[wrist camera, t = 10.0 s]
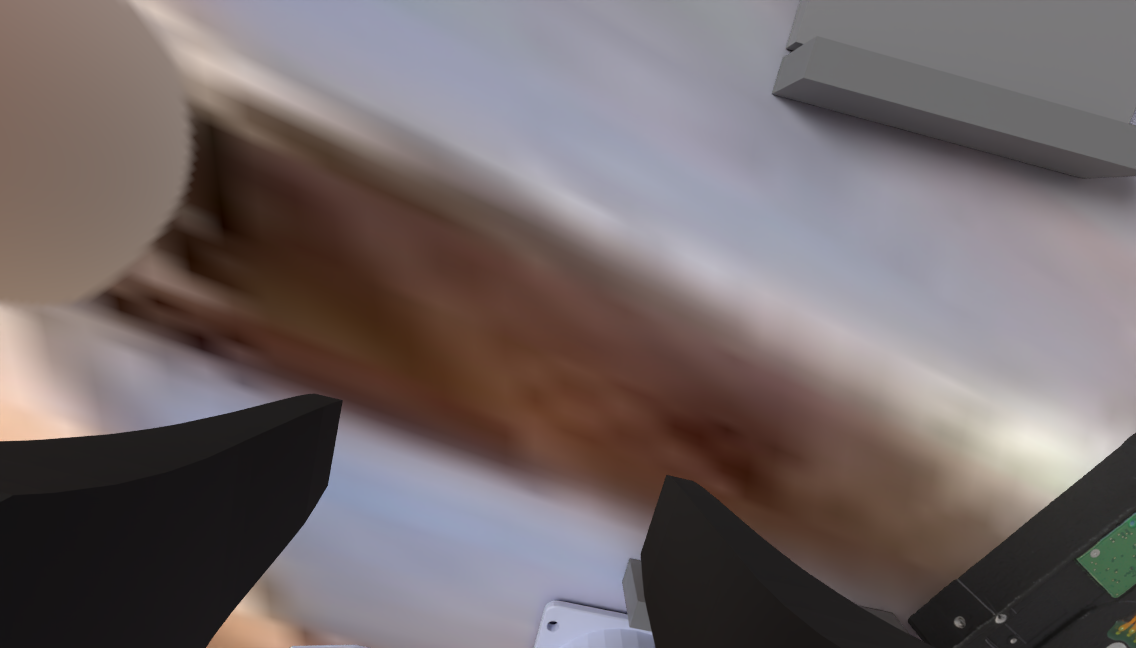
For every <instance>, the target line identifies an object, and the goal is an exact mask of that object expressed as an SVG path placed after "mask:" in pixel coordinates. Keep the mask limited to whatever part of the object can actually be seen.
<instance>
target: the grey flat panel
mask: <svg viewBox="0 0 1136 648" xmlns="http://www.w3.org/2000/svg"><path fill="white" fill-rule="evenodd" d="M786 49H789V50H793V52H791V53H789V54H788V55H786V56H785V57H783V59H782V62H781V66H780V69H779V72H778V75H777V79H776V82H775V85H774V89H773V92H772V94H774V95H778V96H782V97H785V98H789V99H793V100H796V101H800V102H804V103H807V104H811V105H815V106H818V107H822V108H826V109H829V110H833V111H837V112H840V113H844V114H848V115H851V116H855V117H859V118H863V119H866V120H870V121H874V122H877V123H881V124H885V125H888V126H892V127H896V128H899V129H903V130H907V131H910V132H914V133H918V134H921V135H925V136H929V137H932V138H936V139H940V140H943V141H947V142H951V143H954V144H958V145H962V146H965V147H969V148H973V149H976V150H980V151H984V152H988V153H991V154H995V155H999V156H1002V157H1006V158H1010V159H1013V160H1017V161H1021V162H1024V163H1028V164H1032V165H1035V166H1039V167H1043V168H1046V169H1050V170H1054V171H1057V172H1061V173H1065V174H1068V175H1072V176H1076V177H1079V178H1106V177H1128V176H1136V125H1132V124H1129V122H1130V120H1131V118H1132V116H1133V113H1134V111H1135V109H1136V0H800V4H799V7H798V10H797V13H796V17H795V20H794V23H793V27H792V30H791V33H790V36H789V40H788V43H787V46H786ZM622 584H623V590H624V596H625V603H626V609H627V615H628V621H629V627H630V628H635V629H640V630H646V631H651V632H652V630H651V626H650V621H649V617H648V612H647V608H646V603H645V598H644V590H643V580H642V566H641V561H639V560H635V559H629V562H628V565H627V568H626V572H625V575H624V578H623V581H622ZM860 607H861V606H860ZM861 608H863V609H865V610H866V611H868V612H870V613H872V614H873V615H875V616H877V617H879V618H880V619H882V620H884V621H886V622H887V623H889V624H891V625H893V626H894V627H896V628H898V629H900V630H902V631H904V632H906V633H908V631H907V630H906V629H905V628H904V627H903V625H902V624H901V623H900V622H899V620H898V619H897V618H896V617H895V615H894V614H893V613H890V612H885V611H881V610H876V609H871V608H866V607H861ZM908 634H909V633H908Z"/></svg>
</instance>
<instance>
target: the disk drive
mask: <svg viewBox="0 0 1136 648" xmlns="http://www.w3.org/2000/svg"><path fill="white" fill-rule="evenodd" d="M908 623H909V624H910V625H911V626H912V628H913V629H914V630H915V631H916V633H917V634H918V635H919V636H920V638H921V639H922V640H923V641H924V642H925V643H927V644H929V645H931V646H933V647H935V648H1136V433H1135V434H1133V435H1132V436H1131V437H1129V438H1128V439H1127V440H1126V441H1125V442H1124V443H1123V444H1122V445H1121V446H1120V447H1119V448H1118V449H1116V450H1115V451H1114V452H1113V453H1111V454H1110V455H1109V456H1108V457H1106V458H1105V459H1104V460H1103V461H1102V462H1100V463H1099V464H1098V465H1097V466H1095V467H1094V468H1093V469H1092V470H1091V471H1089V472H1088V473H1087V474H1086V475H1084V476H1083V477H1082V478H1081V479H1080V480H1078V481H1077V482H1076V483H1075V484H1073V485H1072V486H1071V487H1070V488H1068V489H1067V490H1066V491H1065V492H1064V493H1062V494H1061V495H1060V496H1059V497H1057V498H1056V499H1055V500H1054V501H1052V502H1051V503H1050V504H1049V505H1048V506H1046V507H1045V508H1044V509H1042V510H1041V511H1040V512H1039V513H1038V514H1036V515H1035V516H1034V517H1033V518H1031V519H1030V520H1029V521H1028V522H1027V523H1025V524H1024V525H1023V526H1022V527H1020V528H1019V529H1018V530H1017V531H1016V532H1014V533H1013V534H1012V535H1011V536H1010V537H1008V538H1007V539H1006V540H1005V541H1004V542H1002V543H1001V544H1000V545H999V546H997V547H996V548H995V549H993V550H992V551H991V552H990V553H989V554H988V555H986V556H985V557H984V558H983V559H981V560H980V561H979V562H978V563H976V564H975V565H974V566H972V567H971V568H970V569H969V570H968V571H966V572H965V573H964V574H963V575H962V576H960V577H959V578H958V579H957V580H954V581H953V582H951V583H950V584H949V585H948V586H946V587H945V588H944V589H943V590H942V591H940V592H939V593H938V594H937V595H936V596H934V597H933V598H932V599H931V600H930V601H929V602H928V603H927V604H926V605H924V606H923V607H922V608H920V609H919V610H918V611H917V612H916V613H915V614H913V615H912V616H911V617H910V618H909V619H908Z"/></svg>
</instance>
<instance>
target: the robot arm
mask: <svg viewBox="0 0 1136 648" xmlns="http://www.w3.org/2000/svg"><path fill="white" fill-rule="evenodd" d="M342 401H343V400H339V399H335V398H331V397H326V396H322V395H318V394H307V395H301V396H296V397H292V398H287V399H283V400H279V401H275V402H271V403H267V404H263V405H260V406H256V407H252V408H248V409H244V410H240V411H236V412H232V413H227V414H223V415H218V416H214V417H209V418H204V419H200V420H195V421H191V422H186V423H181V424H176V425H171V426H165V427H159V428H153V429H146V430H139V431H131V432H124V433H116V434H108V435H96V436H84V437H71V438H58V439H46V440H29V441H0V648H206V647H207V645H208V644H209V642H210V641H211V639H212V638H213V636H214V635H215V634H216V632H217V631H218V630H219V628H220V627H221V626H222V624H223V623H224V622H225V620H226V619H227V618H228V616H229V615H230V614H231V612H232V611H233V610H234V609H235V608H236V606H237V605H238V604H239V603H240V602H241V600H242V599H243V598H244V597H245V596H246V594H247V593H248V592H249V591H250V589H251V588H252V587H253V586H254V585H255V583H256V582H257V581H258V580H259V579H260V577H261V576H262V575H263V574H264V573H265V571H266V570H267V569H268V568H269V567H270V565H271V564H272V563H273V562H274V561H275V559H276V558H277V557H278V556H279V555H280V553H281V552H282V551H283V550H284V548H285V547H286V546H287V545H288V543H289V542H290V541H291V540H292V539H293V537H294V536H295V535H296V534H297V532H298V531H299V530H300V529H301V527H302V526H303V525H304V523H305V522H306V520H307V519H308V517H309V516H310V514H311V512H312V511H313V509H314V508H315V506H316V504H317V503H318V501H319V499H320V498H321V496H322V494H323V493H324V491H325V489H326V488H327V486H328V481H329V475H330V470H331V464H332V458H333V453H334V447H335V441H336V435H337V430H338V424H339V418H340V413H341V407H342ZM641 566H642V580H643V590H644V598H645V603H646V608H647V612H648V617H649V621H650V626H651V630H652V632H651V631H646V630H640V629H635V628H630V627H629V621H628V615H627V614H623V613H618V612H613V611H608V610H603V609H598V608H593V607H588V606H583V605H578V604H573V603H568V602H563V601H551V602H549V603H548V604H546V606H545V608H544V612H543V615H542V619H541V623H540V626H539V630H538V633H537V637H536V641H535V644H534V648H935V647H933V646H931V645H929V644H927V643H925V642H923V641H921V640H919V639H917V638H915V637H913V636H911V635H910V634H908V633H906V632H904V631H902V630H900V629H898V628H896V627H894V626H893V625H891V624H889V623H887V622H886V621H884V620H882V619H880V618H879V617H877V616H875V615H873V614H872V613H870V612H868V611H866V610H865V609H863V608H861V607H860V606H858V605H856V604H855V603H853V602H851V601H850V600H848V599H847V598H845V597H843V596H842V595H840V594H839V593H837V592H836V591H834V590H833V589H831V588H830V587H828V586H827V585H825V584H824V583H822V582H821V581H819V580H818V579H816V578H815V577H813V576H812V575H810V574H809V573H807V572H806V571H805V570H803V569H802V568H801V567H799V566H798V565H796V564H795V563H794V562H792V561H791V560H790V559H789V558H787V557H786V556H785V555H783V554H782V553H781V552H780V551H778V550H777V549H776V548H774V547H773V546H772V545H771V544H769V543H768V542H767V541H766V540H764V539H763V538H762V537H761V536H760V535H758V534H757V533H756V532H755V531H754V530H752V529H751V528H750V527H749V526H748V525H746V524H745V523H744V522H743V521H742V520H741V519H739V518H738V517H737V516H736V515H735V514H734V513H733V512H731V511H730V510H729V509H728V508H727V507H726V506H724V505H723V504H722V503H721V502H720V501H719V500H717V499H716V498H715V497H714V496H713V495H711V494H710V493H709V492H708V491H706V490H705V489H704V488H703V487H701V486H700V485H698V484H697V483H695V482H694V481H691V480H686V479H682V478H677V477H673V476H669V475H666V478H665V481H664V484H663V487H662V490H661V493H660V496H659V499H658V502H657V506H656V509H655V512H654V515H653V518H652V521H651V524H650V527H649V530H648V533H647V536H646V539H645V542H644V545H643V548H642V551H641ZM551 621H555V622H557V623H556V624H550V623H549V622H551ZM290 648H369V647H364V646H358V645H322V646H292V647H290Z"/></svg>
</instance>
